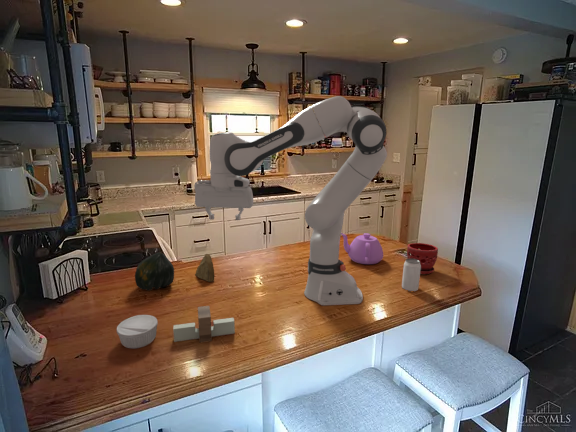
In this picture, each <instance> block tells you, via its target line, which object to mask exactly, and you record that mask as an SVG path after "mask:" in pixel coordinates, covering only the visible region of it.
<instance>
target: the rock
mask: <svg viewBox="0 0 576 432" xmlns="http://www.w3.org/2000/svg"><path fill="white" fill-rule="evenodd" d="M214 268H215V267H214V263H213V260H212V256H211V255H210V254H209V253H205V255H204V256H203V257H202V259H201V261H200V263H199V265H198V266H197V269H196V271H195V274H194V275H195V276H196V277H197V278H198V279H201V280H203V281H207V282H209V283H211V282H214V281H215V269H214Z"/></svg>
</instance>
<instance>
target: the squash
mask: <svg viewBox="0 0 576 432" xmlns="http://www.w3.org/2000/svg"><path fill="white" fill-rule="evenodd" d="M174 278H175V268H174V265H173V263H172V262H171V261H170V260H169V258H168V257H167V256H166V255H165V254H164V253H163V252H156V253H154V254H152V255H149V256H148V257H146V258H145V259H143V260H140V262H139V263H138V265H137V267H136V269H135V273H134V281H135V284H136V287H138V288H139V289H140V290H146V291H152V290H154V289H155V290H159V289H162V288H165V287H169V286H171V285H172V284H173V282H174Z"/></svg>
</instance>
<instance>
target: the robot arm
mask: <svg viewBox="0 0 576 432" xmlns="http://www.w3.org/2000/svg"><path fill="white" fill-rule="evenodd" d="M340 132H341V133H346V134H347V136H348V137H349V139H350V140H352V142H353V143H354V145H355V147H354V149H353V151H352V153H351V154H350V156H349V157H348V158H347V159H346V161H345V162H344V163H343V164H342V165H341V167H340V168H339V169H338V170H337V172H336V173H335V175H334V176H333V177H332V178H331V179H330V180H329V181H328V183H326V185H325V186H324V187H323V188H322V189H321V190H320V192H319V193H318V194H317V195H316V196H315V197H314V198H313V199H312V201H311V202H310V203H309V205H308V206H307V207H306V210H305V212H304V220H305V223H306V224H307V225H308V227H310V228H312V234H311V237H310V238H309V239H310V240H309V258H308V261H307V273H308V275H307V281H306V286H305V289H304V292H303V294H304V296H305V297H306V298H307V299H308V300H311V301H314V302H316V304H319V305H321V306H337V305H338V306H340V305H359V304H361V303H362V302H363V299H364V298H363V293H362V290H361V289H360V288H359V287H358V285H357V284H358V283H357V282H356V279H355V278H354V276H353V275H351V274H350V273H348V272H347V271H346V265H345V264H344V262H343V260H342V259H339V258H340V256H339V255H340V245H341V244H340V241H341V236H342V235H341V233H342V229H343V226H344V225H343V224H344V217H345V212H346V210H347V209H348V208H349V207H350V206H351V204H353V203H354V201H355V200H356V199H357V198H358V197H359V196H360V194H362V192H363V191H364V190H365V188H366V187H367V186H368V185H369V184H370V182H372V180H373V179H374V178H375V176H376V175H377V174H378V173H379V171H380V169H381V168H382V166H383V165H384V163H385V161H386V159H387V157H388V152H387V149H386V147H385V146H384V143H385V141H386V138H387V126H386V123H385V122H384V120H383V118H381V117H380V115H379V114H378V113H376V112H375V111H374V110H372V109H371V108H370V107H367V106H366V105H365V106H364V105H355V104H354V105H351V103H350V102H349V100H348V99H347V98H345V97H344V96H341V95H335V96H333V97H330V98H326V99H324V100H321V101H319V102H316V103H314V104H312V105H310V106H308V107H307V108H305V109H303V110H302V111H300V112H299V113H297V114H296V115H295V116H294V117H292V118H291V119H290V120H288V121H287V122H286V123H285V124H284V125H282V126H281V127H279V128H278V129H276V130H273V131H272V132H270V133H268V134H266V135H264V136H262V137H260V138H258V139H255V140H254V141H247V140H245V139H243V138H240V137H238V136H237V135H236V134H234V133H233V132H230V131H227V132H219V133H216V134H213V135H212V136H211V137H210V142H209V161H210V165H211V166H210V172H209V173H210V175H209V176H210V179H207V180H202V179H200V180H199V179H198V180H197V181H196V182H195V183H194V185H193V186H194V192H195V194H194V204H195V206H196V207H198V208H205V212H206V213H207V216H208V219H209V221H210V220H215V213H212V211H211V210H212V208H224V209H225V208H229V209H230V208H231V209H237V210H238V213H237V214H235V216H234V217H235V221H240V220H241V219H242V218H241V215H242V214H243V212H244V209H250V208H252V207H253V206H254V195H253V190H252V187H251V186H250V179H248V178H246V177H244V176H247V175H249V174H251V173H253V172H254V171H256V170H258V169H259V168H260V167H261V166H262V165H263V163H264V160H267V159H268V158H270V157H272V156H274V155H276V154H277V153H280V152H283V151H284V150H287V149H290V148H295V147H300V146H305V145H306V146H307V145H310V144H314V143H317V142H319V141H322V140H324V139H326V138H328V137H331V136H332V135H334V134H336V133H340Z"/></svg>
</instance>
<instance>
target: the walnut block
mask: <svg viewBox="0 0 576 432" xmlns="http://www.w3.org/2000/svg"><path fill="white" fill-rule="evenodd" d="M197 317H198V318H197V319H198V321H197V322H198V328H199V338H198V339H199V343H206V342H212V338H213V336H212V337H211V327H212V317H211V307H210V305H204V306H203V305H202V306H197Z"/></svg>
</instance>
